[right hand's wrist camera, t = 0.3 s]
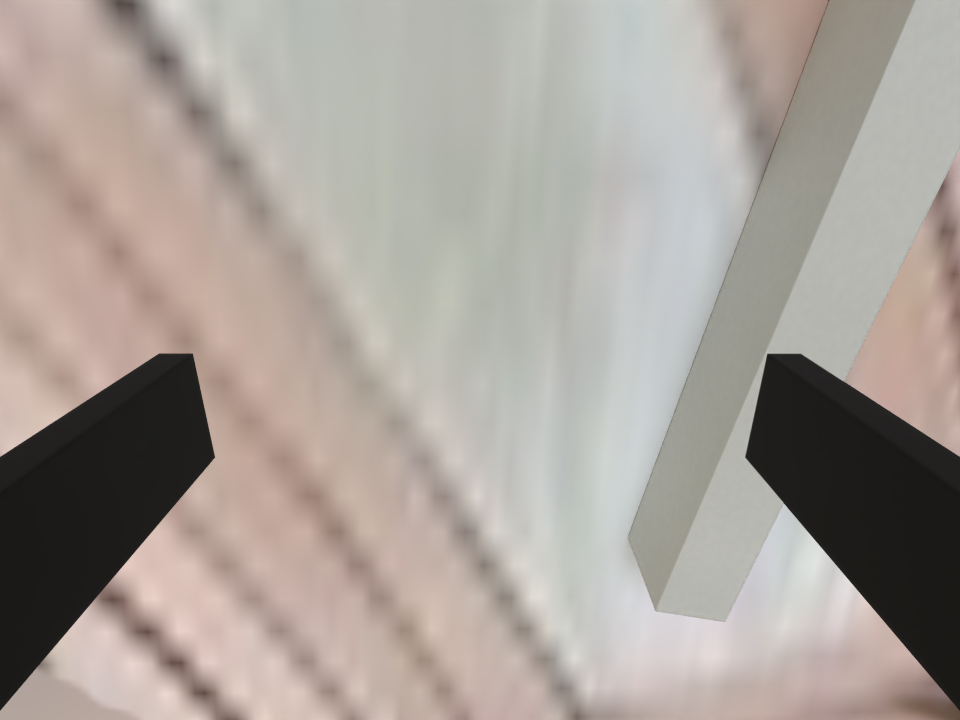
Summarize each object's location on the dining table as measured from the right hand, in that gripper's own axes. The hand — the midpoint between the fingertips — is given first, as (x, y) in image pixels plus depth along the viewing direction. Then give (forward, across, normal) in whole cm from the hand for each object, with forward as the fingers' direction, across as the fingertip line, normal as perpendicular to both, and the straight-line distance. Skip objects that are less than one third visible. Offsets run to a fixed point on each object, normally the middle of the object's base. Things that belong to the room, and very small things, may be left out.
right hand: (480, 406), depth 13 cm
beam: (+28, +22, +1) cm, 35 cm away
